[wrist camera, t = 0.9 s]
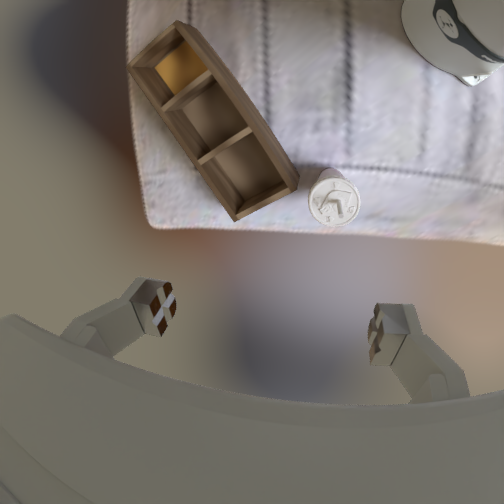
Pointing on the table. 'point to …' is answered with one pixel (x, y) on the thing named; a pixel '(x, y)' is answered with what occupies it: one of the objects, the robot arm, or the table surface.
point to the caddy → (213, 120)
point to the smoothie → (333, 199)
